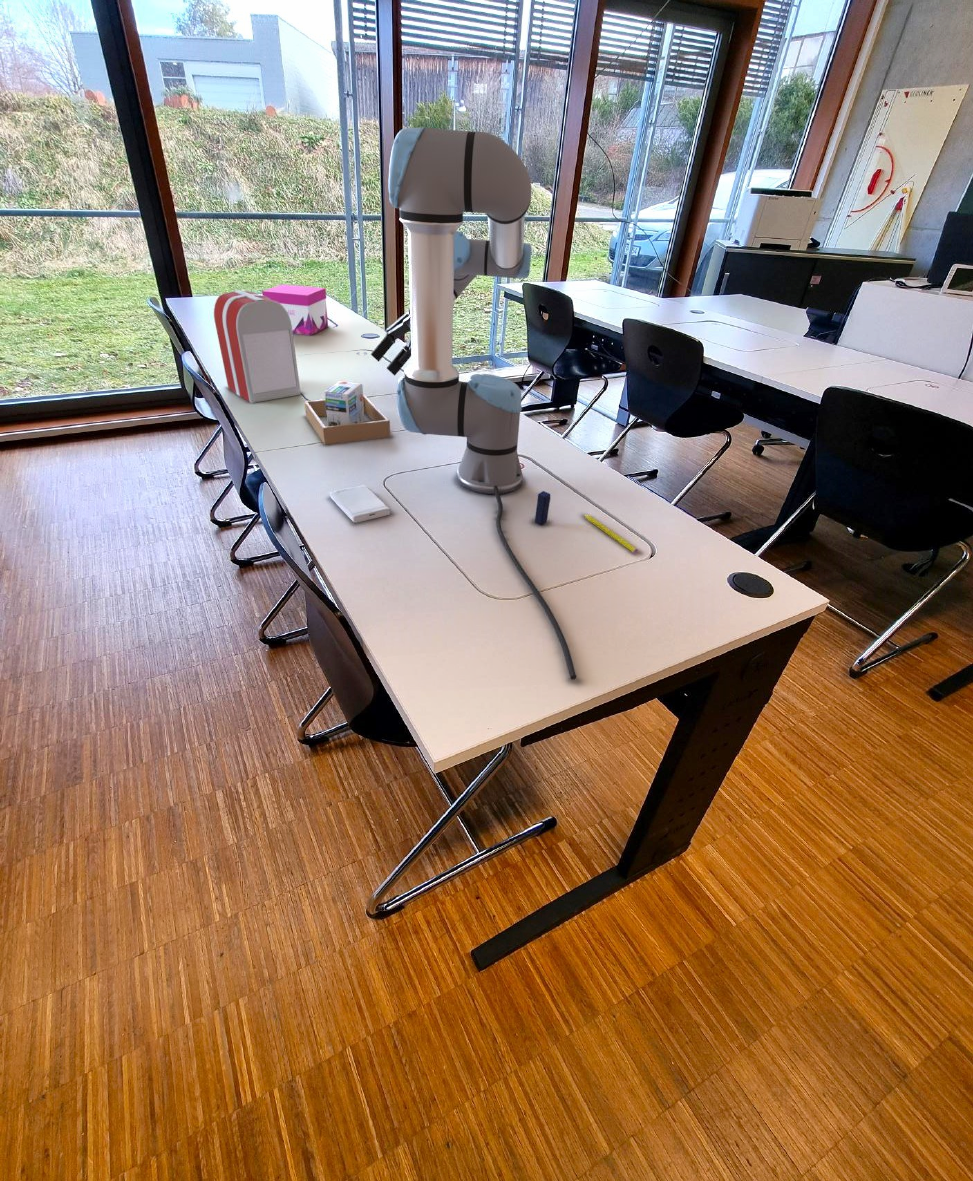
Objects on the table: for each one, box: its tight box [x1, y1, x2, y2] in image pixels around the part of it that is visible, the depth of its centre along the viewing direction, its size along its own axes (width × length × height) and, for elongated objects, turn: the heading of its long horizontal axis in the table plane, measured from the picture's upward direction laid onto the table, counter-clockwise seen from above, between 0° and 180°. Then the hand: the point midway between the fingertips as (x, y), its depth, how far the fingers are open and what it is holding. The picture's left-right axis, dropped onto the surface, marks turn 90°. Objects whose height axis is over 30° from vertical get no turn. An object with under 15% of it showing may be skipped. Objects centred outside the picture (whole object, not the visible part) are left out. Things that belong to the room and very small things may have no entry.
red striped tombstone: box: [213, 289, 302, 404], centre depth 173 cm, size 17×18×27 cm
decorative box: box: [261, 283, 329, 336], centre depth 245 cm, size 19×19×15 cm
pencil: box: [584, 514, 638, 554], centre depth 120 cm, size 16×1×1 cm, turn 30°
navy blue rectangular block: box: [534, 490, 551, 526], centre depth 120 cm, size 2×2×7 cm
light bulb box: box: [323, 380, 366, 426], centre depth 157 cm, size 11×7×11 cm, turn 168°
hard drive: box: [329, 484, 391, 524], centre depth 123 cm, size 2×8×12 cm
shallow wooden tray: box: [303, 395, 391, 446], centre depth 159 cm, size 22×18×4 cm
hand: (382, 364), depth 156 cm, fingers open, 13 cm apart
